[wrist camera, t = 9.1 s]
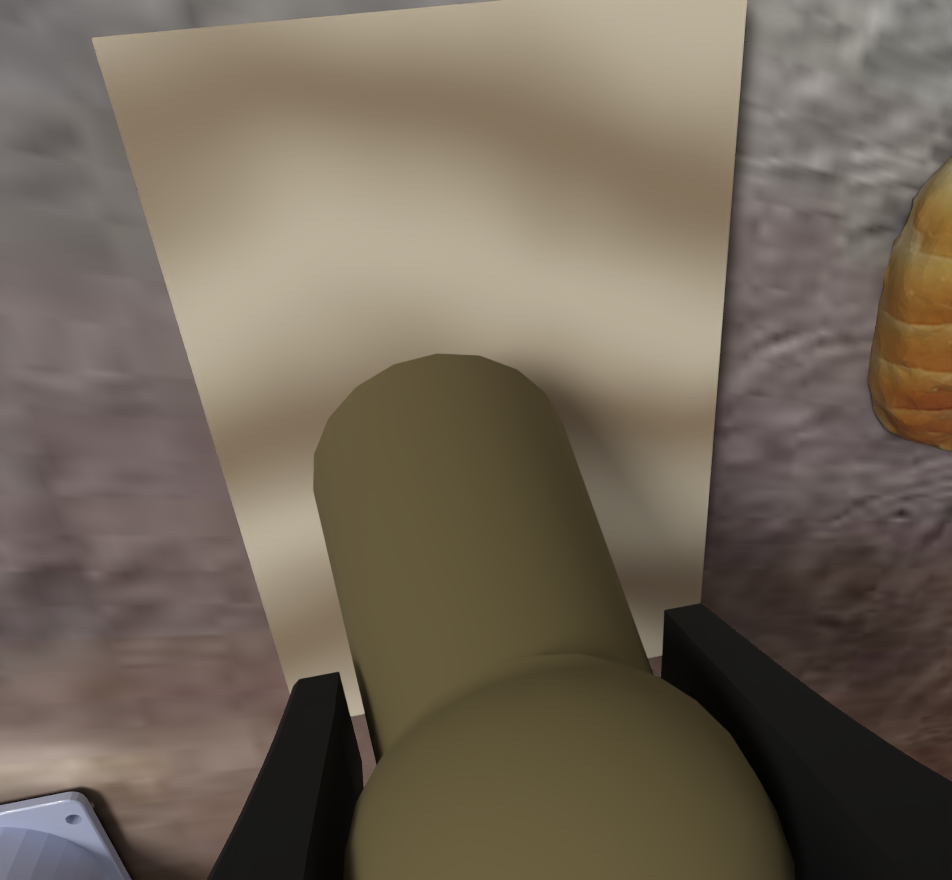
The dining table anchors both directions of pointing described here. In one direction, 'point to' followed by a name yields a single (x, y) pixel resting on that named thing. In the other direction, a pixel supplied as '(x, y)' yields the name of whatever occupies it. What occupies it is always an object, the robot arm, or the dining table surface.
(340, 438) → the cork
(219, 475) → the dining table surface
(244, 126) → the birch board
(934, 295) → the pastry
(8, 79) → the dining table surface
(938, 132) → the dining table surface
